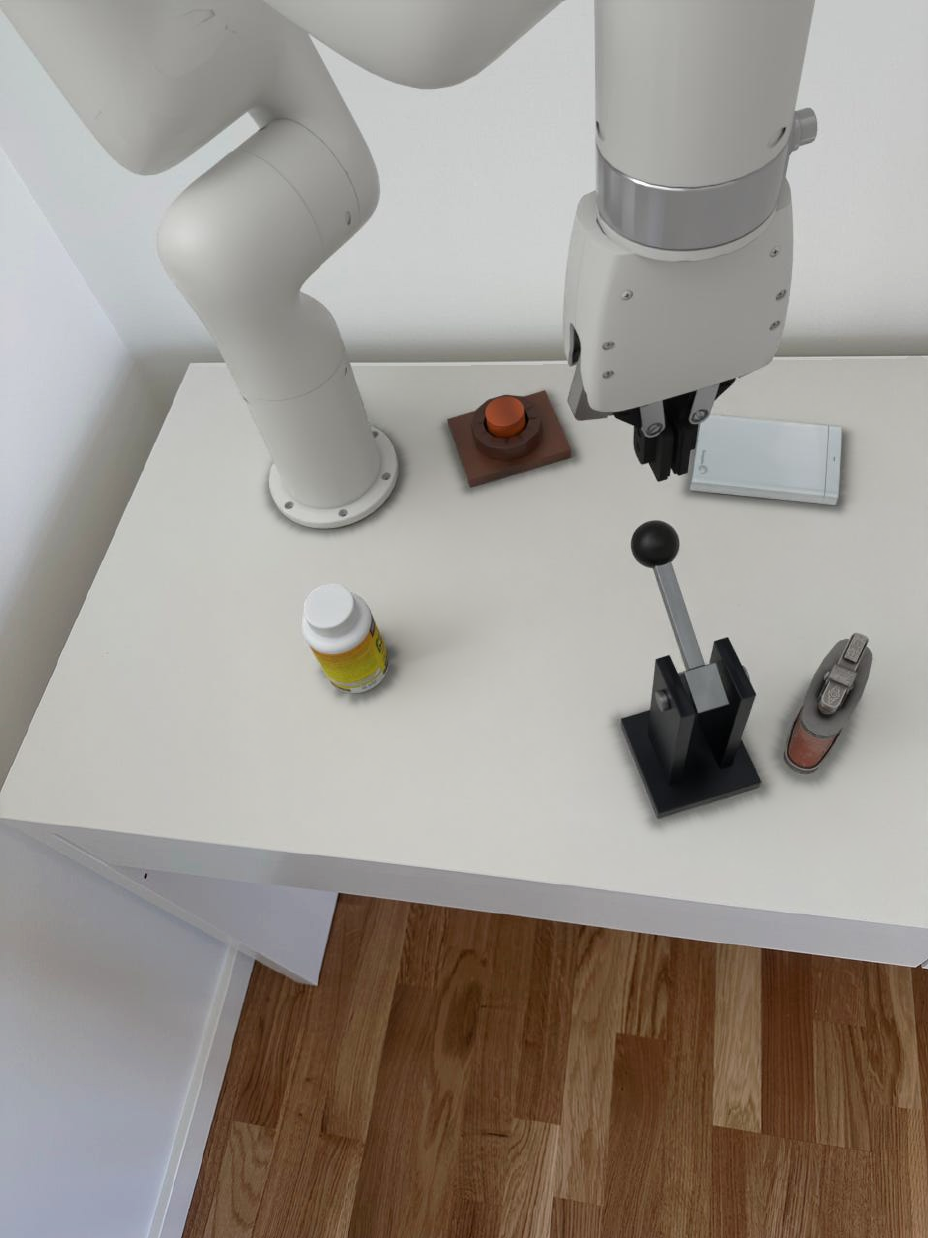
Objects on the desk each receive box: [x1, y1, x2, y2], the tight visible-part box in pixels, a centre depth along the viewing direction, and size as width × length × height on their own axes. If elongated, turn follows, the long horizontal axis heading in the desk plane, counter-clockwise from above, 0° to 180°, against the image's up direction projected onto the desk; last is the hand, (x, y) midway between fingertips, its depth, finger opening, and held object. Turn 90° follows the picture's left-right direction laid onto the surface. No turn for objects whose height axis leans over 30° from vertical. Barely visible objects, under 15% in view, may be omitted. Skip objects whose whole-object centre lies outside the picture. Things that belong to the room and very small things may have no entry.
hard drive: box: [689, 413, 843, 506], centre depth 82 cm, size 2×8×12 cm
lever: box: [630, 519, 729, 714], centre depth 60 cm, size 13×3×3 cm, turn 15°
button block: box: [446, 389, 572, 488], centre depth 87 cm, size 10×8×3 cm
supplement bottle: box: [301, 583, 390, 694], centre depth 74 cm, size 6×6×10 cm
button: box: [485, 397, 525, 438], centre depth 85 cm, size 4×4×2 cm
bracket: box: [620, 636, 762, 820], centre depth 64 cm, size 8×8×14 cm
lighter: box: [783, 632, 873, 775], centre depth 66 cm, size 8×3×10 cm, turn 148°
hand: (662, 459), depth 53 cm, fingers closed
